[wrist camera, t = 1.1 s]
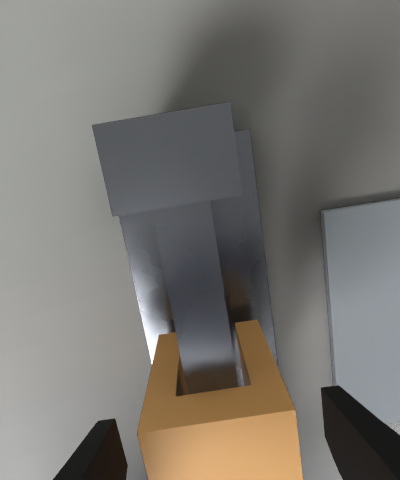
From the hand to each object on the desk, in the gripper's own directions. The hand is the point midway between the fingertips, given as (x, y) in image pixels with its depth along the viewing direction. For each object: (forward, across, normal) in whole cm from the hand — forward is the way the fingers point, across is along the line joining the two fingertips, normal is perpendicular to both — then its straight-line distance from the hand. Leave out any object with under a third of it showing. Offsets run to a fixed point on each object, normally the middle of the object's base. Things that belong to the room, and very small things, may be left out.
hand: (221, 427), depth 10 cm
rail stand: (+5, 0, 0) cm, 5 cm away
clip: (+3, 0, 0) cm, 4 cm away
